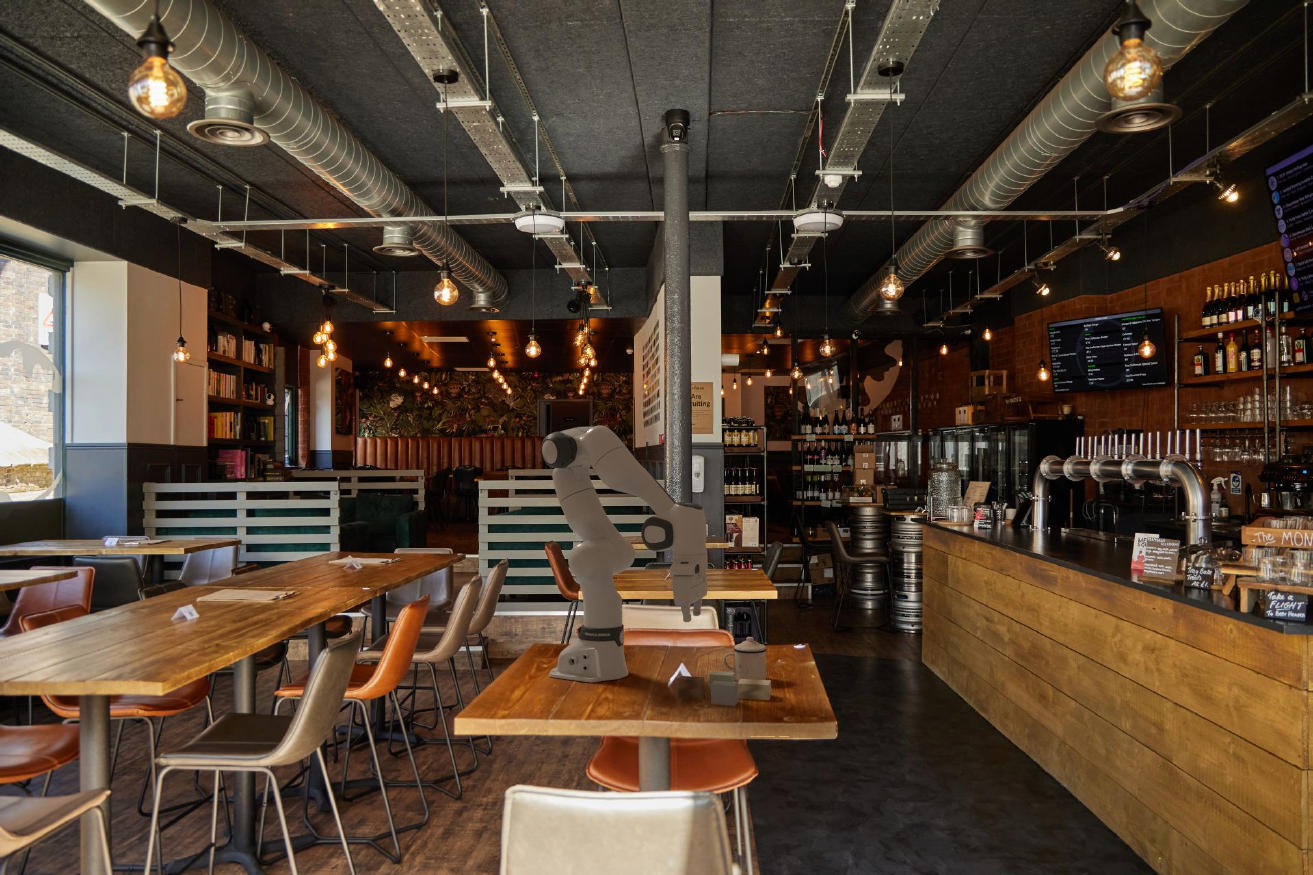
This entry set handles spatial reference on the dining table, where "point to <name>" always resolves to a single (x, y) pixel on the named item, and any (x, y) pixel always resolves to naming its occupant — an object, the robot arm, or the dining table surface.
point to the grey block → (724, 693)
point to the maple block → (754, 689)
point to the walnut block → (691, 687)
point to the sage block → (721, 677)
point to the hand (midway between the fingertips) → (692, 618)
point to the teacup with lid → (749, 660)
